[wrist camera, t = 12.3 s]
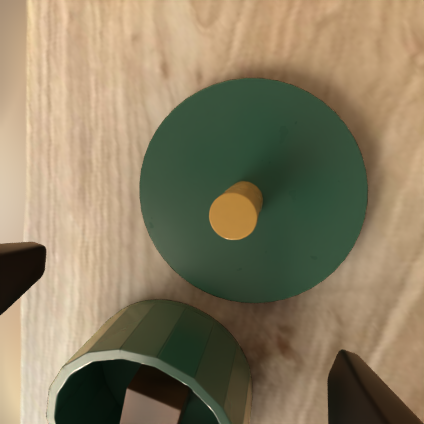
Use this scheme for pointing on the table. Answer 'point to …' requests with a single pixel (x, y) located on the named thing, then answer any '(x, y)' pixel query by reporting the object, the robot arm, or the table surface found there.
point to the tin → (160, 358)
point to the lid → (253, 190)
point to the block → (154, 398)
